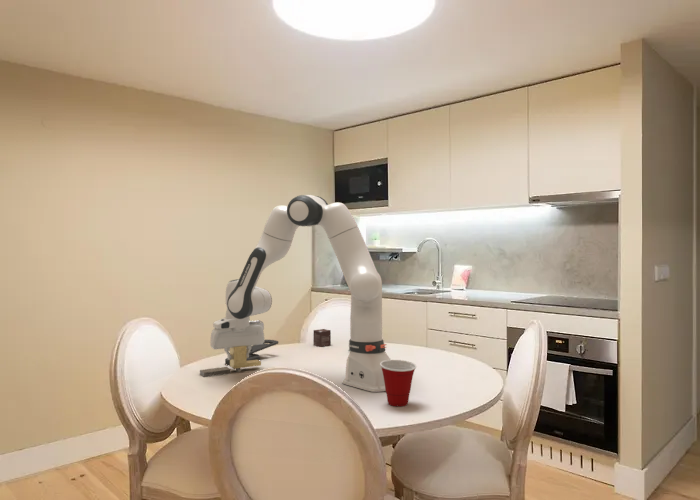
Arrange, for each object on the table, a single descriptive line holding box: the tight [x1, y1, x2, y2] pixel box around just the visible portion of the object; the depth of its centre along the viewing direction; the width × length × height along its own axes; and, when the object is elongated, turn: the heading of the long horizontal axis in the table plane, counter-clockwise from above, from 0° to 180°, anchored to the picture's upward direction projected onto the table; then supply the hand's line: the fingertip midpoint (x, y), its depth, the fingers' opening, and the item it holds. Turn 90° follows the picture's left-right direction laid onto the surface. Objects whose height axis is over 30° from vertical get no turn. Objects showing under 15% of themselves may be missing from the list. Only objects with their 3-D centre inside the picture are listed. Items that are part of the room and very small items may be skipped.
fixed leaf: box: [199, 366, 242, 378], centre depth 195 cm, size 5×15×7 cm, turn 121°
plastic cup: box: [380, 359, 418, 407], centre depth 156 cm, size 11×11×12 cm
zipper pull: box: [224, 339, 279, 367], centre depth 218 cm, size 9×7×25 cm
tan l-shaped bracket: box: [229, 346, 262, 370], centre depth 200 cm, size 11×5×8 cm, turn 121°
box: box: [312, 328, 332, 348], centre depth 249 cm, size 6×6×7 cm
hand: (238, 358), depth 199 cm, fingers closed on tan l-shaped bracket, 5 cm apart
